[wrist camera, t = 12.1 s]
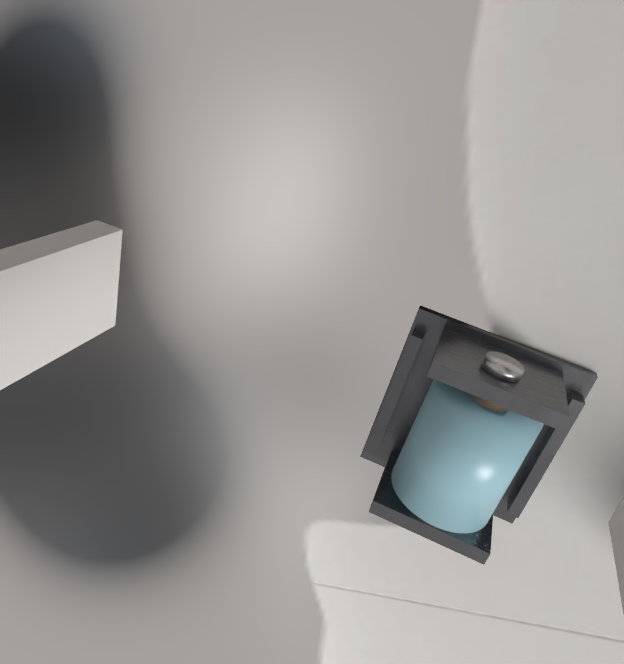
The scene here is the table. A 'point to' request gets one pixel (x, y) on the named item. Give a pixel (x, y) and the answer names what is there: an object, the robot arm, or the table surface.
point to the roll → (460, 458)
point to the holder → (486, 383)
